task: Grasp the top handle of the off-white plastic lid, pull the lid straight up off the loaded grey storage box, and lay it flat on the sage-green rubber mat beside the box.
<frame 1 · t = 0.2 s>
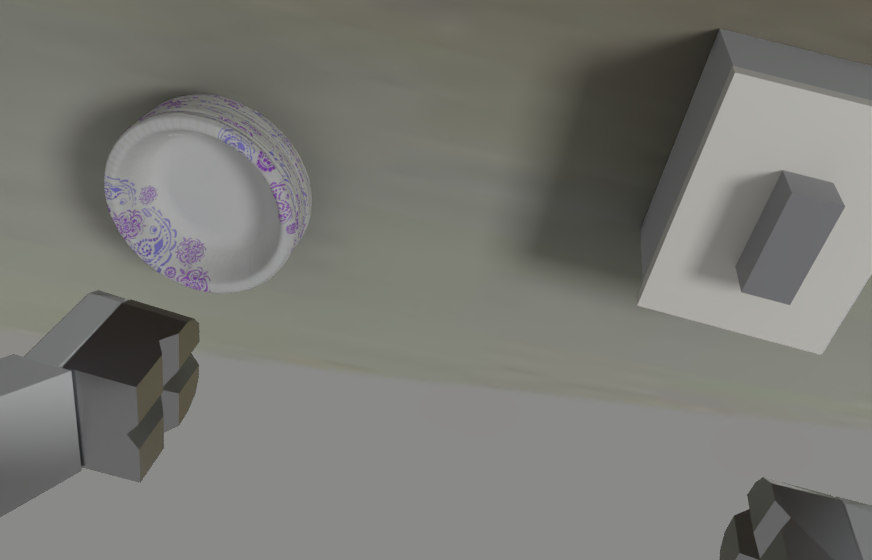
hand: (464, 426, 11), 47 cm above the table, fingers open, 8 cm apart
lid: (779, 217, 49), point 9 cm above the table, touching storage box
storage box: (758, 158, 57), on the table
paper bowls: (238, 167, 66), on the table
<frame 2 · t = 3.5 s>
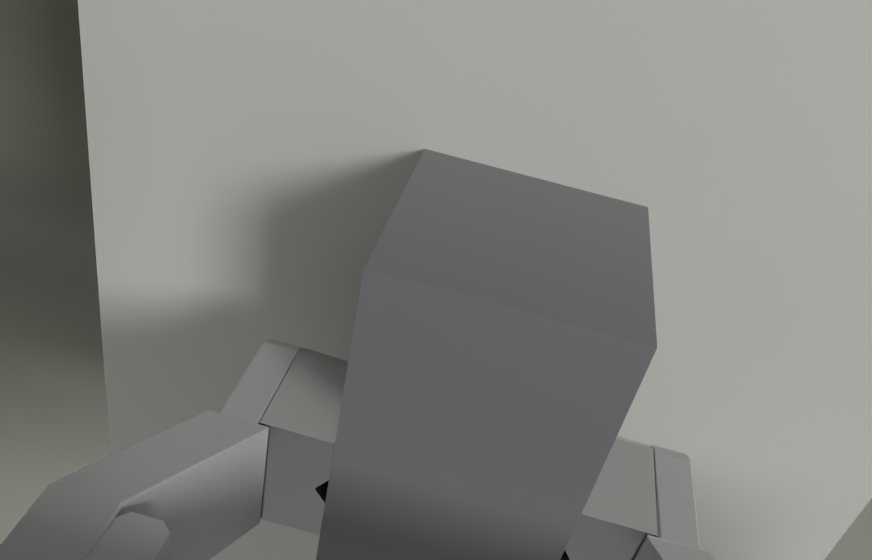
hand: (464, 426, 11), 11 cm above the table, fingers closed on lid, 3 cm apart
lid: (488, 329, 13), point 9 cm above the table, touching gripper, storage box
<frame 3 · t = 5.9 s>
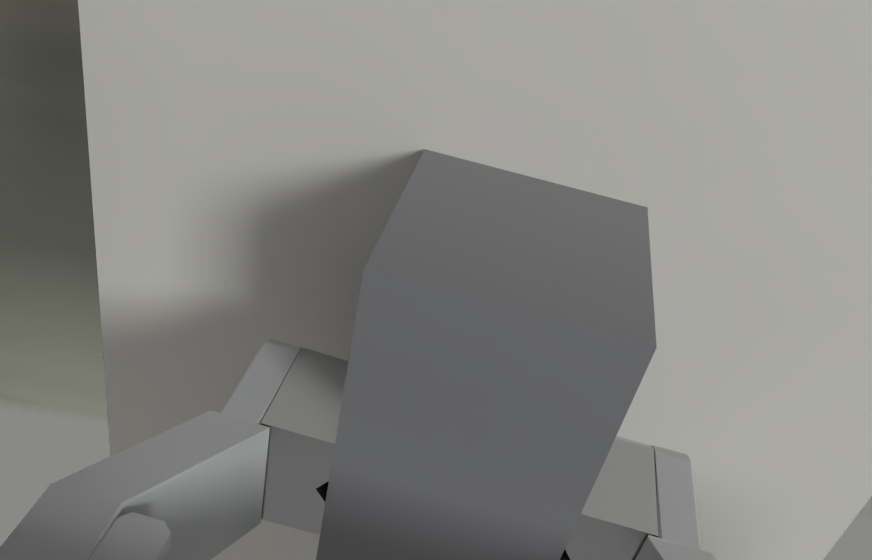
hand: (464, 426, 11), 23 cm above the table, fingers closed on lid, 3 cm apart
lid: (487, 329, 13), point 21 cm above the table, touching gripper
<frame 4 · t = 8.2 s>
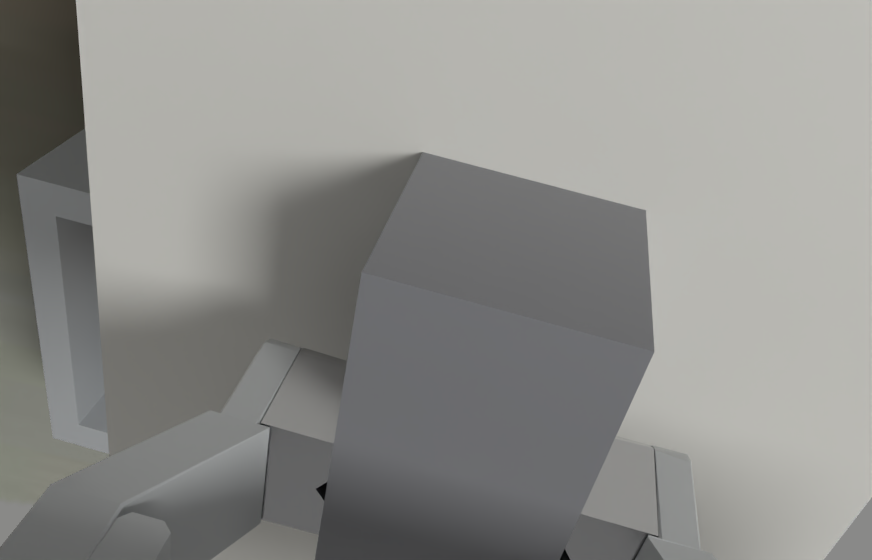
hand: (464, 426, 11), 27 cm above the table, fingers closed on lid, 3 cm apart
lid: (486, 332, 13), point 25 cm above the table, touching gripper
storage box: (232, 257, 45), on the table
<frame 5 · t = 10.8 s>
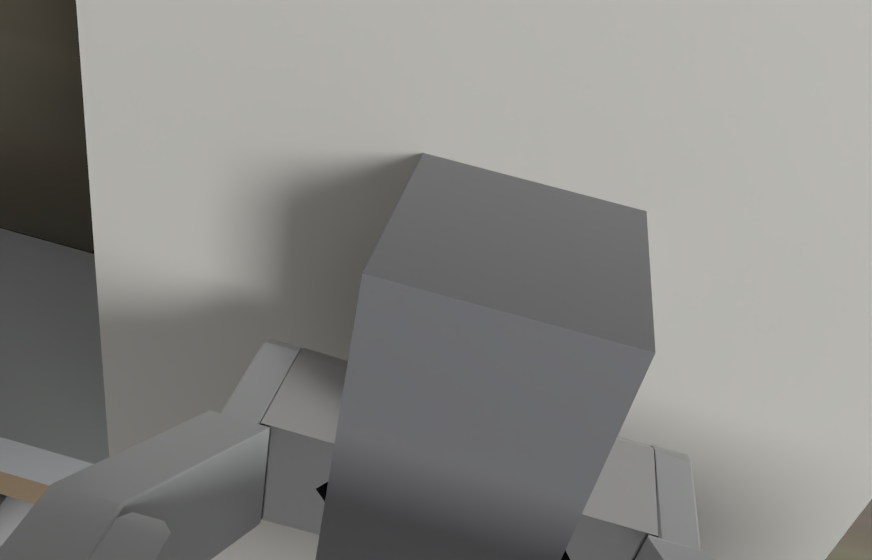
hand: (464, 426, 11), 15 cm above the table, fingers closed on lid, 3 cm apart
lid: (487, 332, 13), point 12 cm above the table, touching gripper
storage box: (99, 399, 35), on the table
when the fingers open (6 cm above the table, at t = 12.8 s): lid drops 1 cm, resting on mat.
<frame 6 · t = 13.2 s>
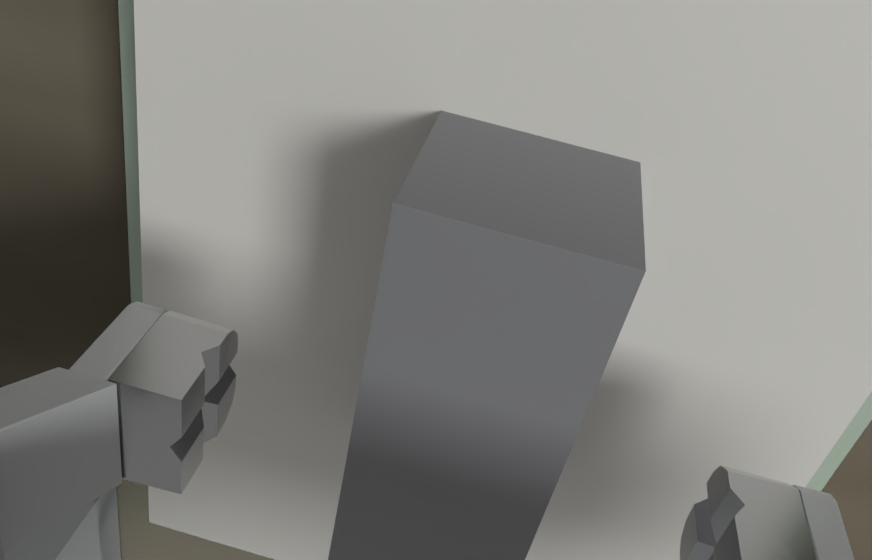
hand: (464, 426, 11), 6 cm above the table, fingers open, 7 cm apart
lid: (495, 283, 14), point 2 cm above the table, touching mat
mat: (511, 236, 16), on the table
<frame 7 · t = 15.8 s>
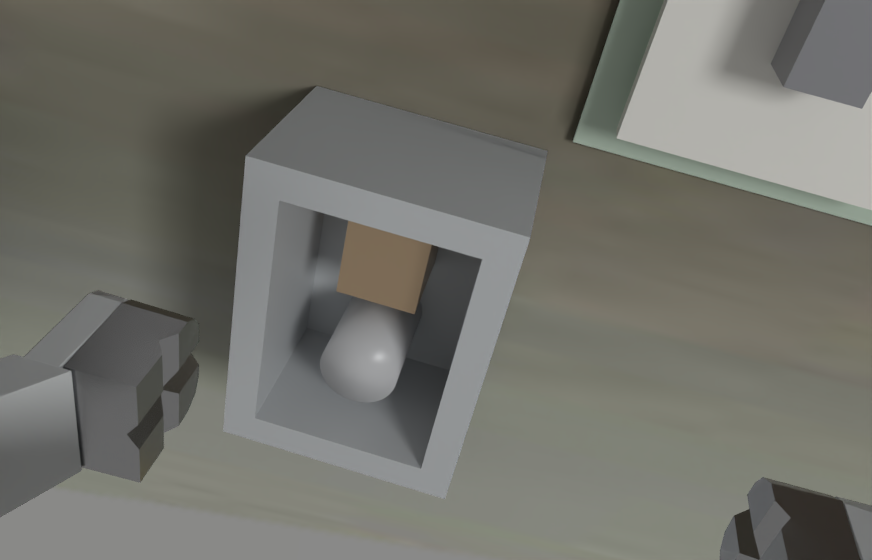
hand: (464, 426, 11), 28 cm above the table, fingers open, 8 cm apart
storage box: (401, 250, 44), on the table
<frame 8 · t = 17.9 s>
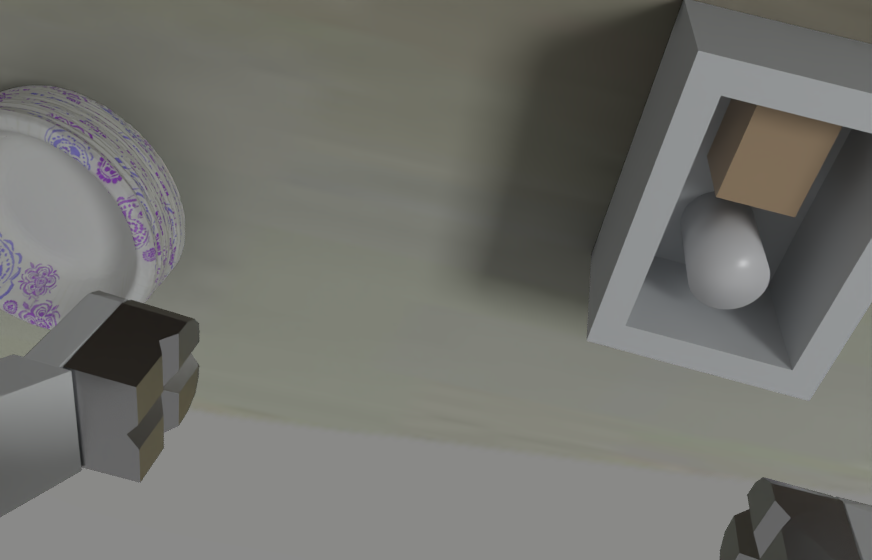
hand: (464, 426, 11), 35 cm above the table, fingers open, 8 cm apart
storage box: (736, 165, 45), on the table
paper bowls: (102, 175, 54), on the table
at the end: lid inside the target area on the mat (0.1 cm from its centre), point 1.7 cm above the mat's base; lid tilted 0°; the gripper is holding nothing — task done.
